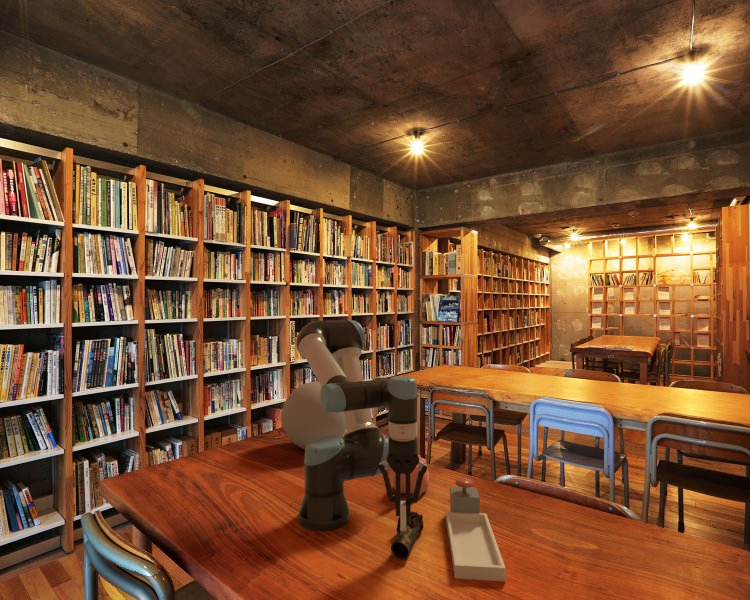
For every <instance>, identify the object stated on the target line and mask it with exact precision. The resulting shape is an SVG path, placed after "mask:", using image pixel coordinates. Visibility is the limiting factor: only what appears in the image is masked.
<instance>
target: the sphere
mask: <svg viewBox="0 0 750 600" xmlns="http://www.w3.org/2000/svg"><path fill="white" fill-rule="evenodd" d="M321 388H322V386H321V384H320V383H319V381H310V382H306V383H304V384H301V385H299V386H298V387H297V388H296V387H295V389H294V390H292V392H291V393H290V394H288V395H289V396H288V397H287V399H286V400H285V401H284V405H283V407H282V412H281V422H282V427H283V430H284V433H285V434H286V436H287V438H288V439H289V440H290V441H291V442H292V443H293V444H294V445H295V446H297V447H299V448H301V449H303V450H305V449H306V446H307V445H308V444H309V443H310V442H311V441H313V440H315V439H317V438H320V437H324V436H340V437H342V438H343V437H344V435H345V433H346V432H347V425H346V420H345V414H344V411H343V412H339V413H337V412H325V411H324V410H323V408H322V404H321V400H320V392H321Z"/></svg>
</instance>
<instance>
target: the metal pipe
mask: <svg viewBox="0 0 750 600" xmlns="http://www.w3.org/2000/svg"><path fill="white" fill-rule="evenodd" d="M423 518H424V517H423V514H422V513H421V514H420V513H418V512H417V511H411V515H410V517H406V531H400V517H398V519H397V525H396V533H397V536H396V537H395V540H394V541H393V542H392V544H391V546H390V550H391V553H392V555H393V556H394V557H395V558H397V559H399V560H403V561H404V560H407V559H408V557H409V556H410V553H411V552H412V549H413V546H414V544H415V541H416V540H417V536H418V535H419V534H420V533H422V532H423V530H424V520H423Z"/></svg>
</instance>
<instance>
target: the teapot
mask: <svg viewBox="0 0 750 600" xmlns="http://www.w3.org/2000/svg"><path fill="white" fill-rule="evenodd" d="M418 457H419V460H420V461H421V462H423V463H427V460H426V459H425V458H423V457H422V456H421V455H420V454H418ZM427 468H428V469H427V471H426V472H425V474H424V476H423V480H422V484H421V488H420V492H419V497H420V496H421V495H422V494H423V493H424V492H425V491H426V490H427V488H428V486H429V484H430V473H429V467H428V466H427ZM418 472H419V470H418V465H417V466H416V468H415V469H414V470H413V472H412V473H410V495H413V493H414V489H415V485H416V480H417V476H418ZM392 485H393V486H392V487H393V488H394V490H395V491H396V473H395V472H394V471H393V478H392ZM401 494H406V474H401Z"/></svg>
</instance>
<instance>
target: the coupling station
mask: <svg viewBox="0 0 750 600" xmlns="http://www.w3.org/2000/svg"><path fill="white" fill-rule="evenodd" d="M455 485H456V486H449V500H450V501H449V511H446V512H445V523H446V531H447V537H448V541H449V542H448V543H449V550H450V555H451V562H452V568H453V575H454V579H458V580H459V579H462V580H472V581H473V580H477V581H490V582H492V581H493V582H506V581H507V579H506V576H507V575H506V574H507V571H506V570H507V569H506V566H505V562H504V559H503V556H502V554H501V551H500V548H499V545H498V543H497V542H498V541H496V537H495V535H494V532H493V529H492V526H491V523H490V520H489V517H488V514H487V513H483V512H481V497H480V494H479V491H478V488H477V487H476V486H475V487H474V481H473V479H471V478H469V477H458V478H456V479H455Z"/></svg>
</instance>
